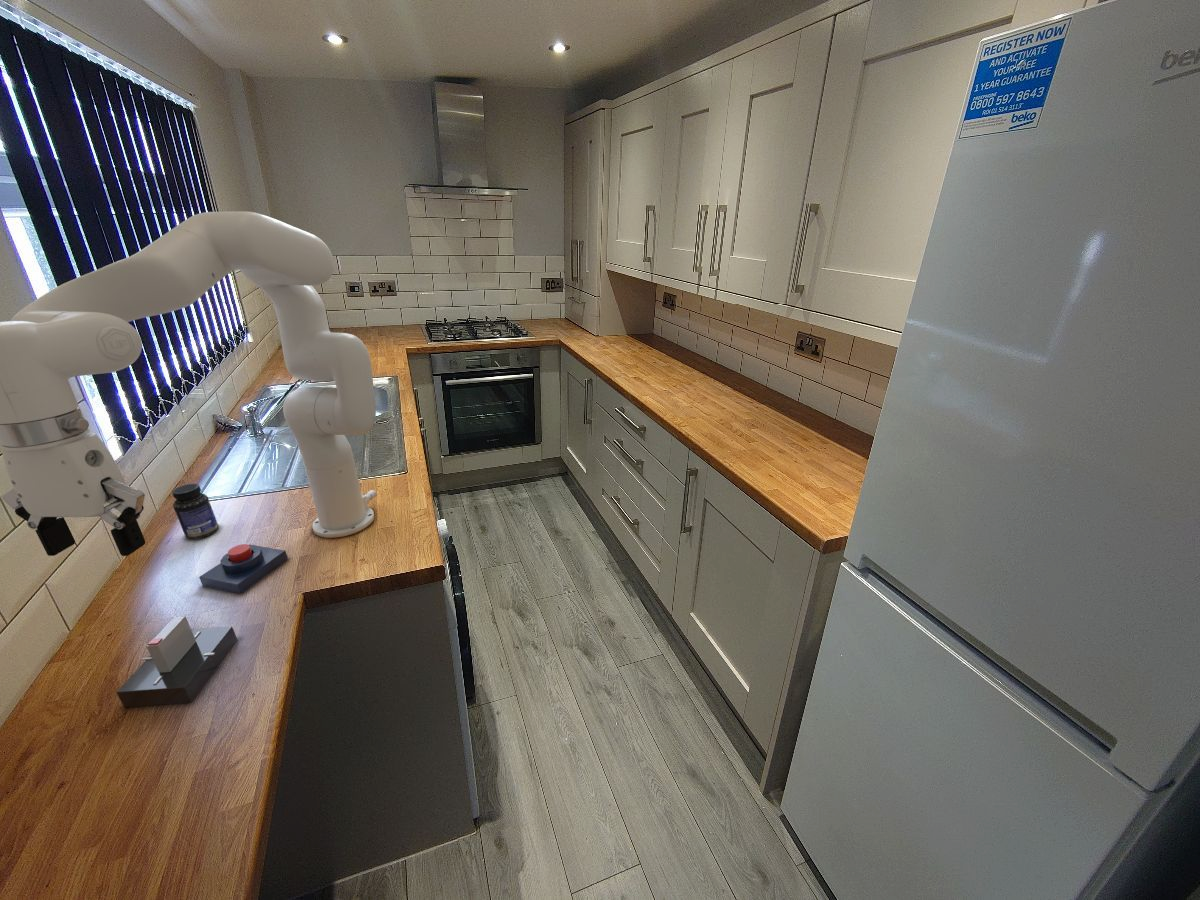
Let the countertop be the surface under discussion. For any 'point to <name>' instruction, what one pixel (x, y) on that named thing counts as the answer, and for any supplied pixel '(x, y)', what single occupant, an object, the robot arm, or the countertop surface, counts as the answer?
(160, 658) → the tap lever
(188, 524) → the pill bottle
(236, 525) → the countertop surface
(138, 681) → the base
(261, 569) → the button box
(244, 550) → the button
